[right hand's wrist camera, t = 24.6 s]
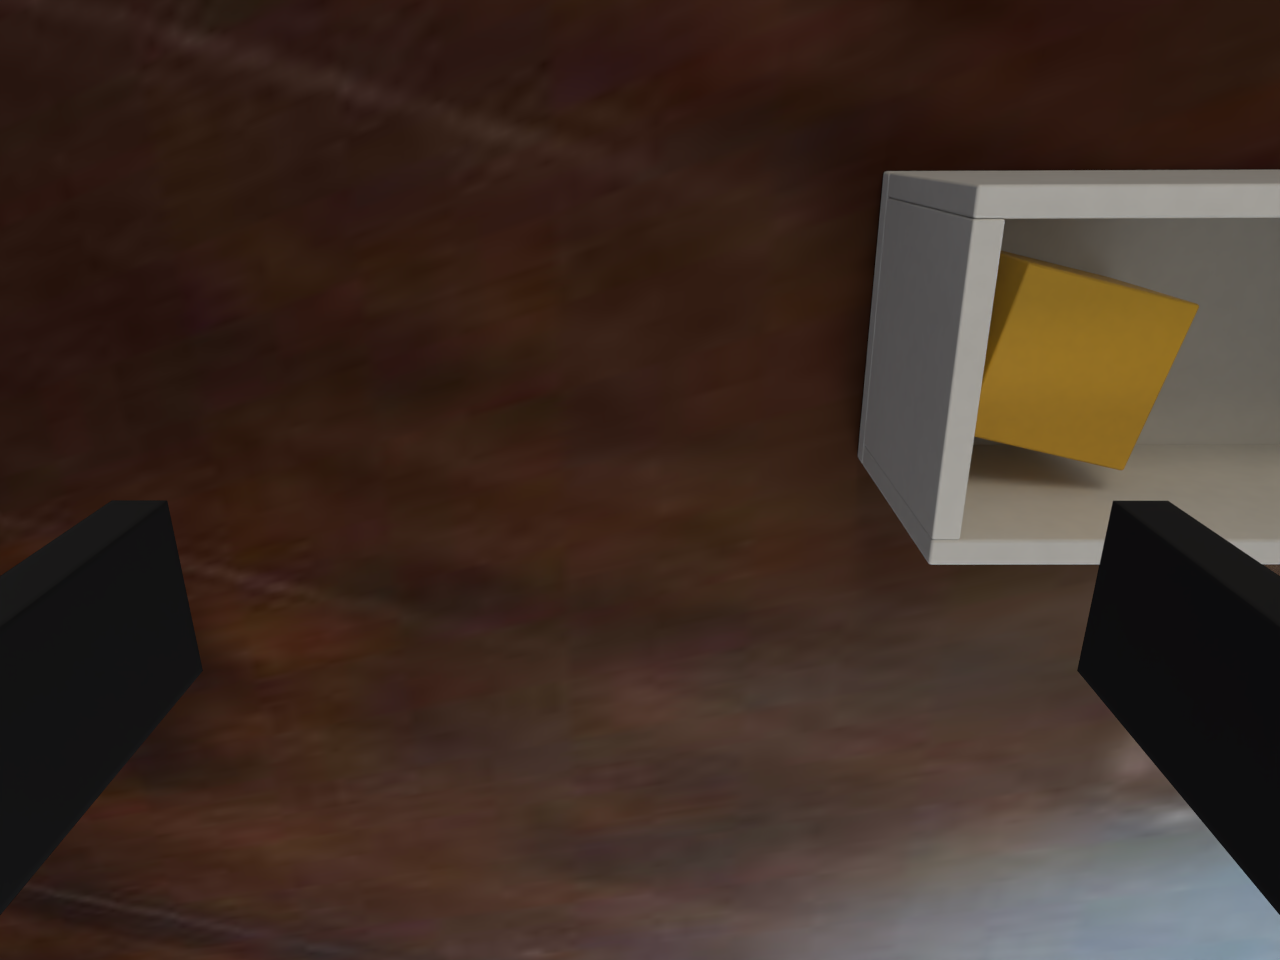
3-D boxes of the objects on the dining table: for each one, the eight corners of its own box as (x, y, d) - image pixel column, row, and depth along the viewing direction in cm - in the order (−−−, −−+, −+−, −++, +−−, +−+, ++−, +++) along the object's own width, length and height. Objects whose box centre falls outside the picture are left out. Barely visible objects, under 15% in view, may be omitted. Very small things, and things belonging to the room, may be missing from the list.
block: (913, 388, 30) (962, 434, 25) (965, 241, 28) (1029, 261, 24) (1050, 420, 31) (1123, 471, 26) (1110, 277, 29) (1201, 304, 24)
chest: (857, 457, 32) (928, 566, 24) (882, 170, 28) (977, 184, 20) (1335, 456, 32) (1570, 565, 24) (1422, 168, 28) (1735, 181, 20)
